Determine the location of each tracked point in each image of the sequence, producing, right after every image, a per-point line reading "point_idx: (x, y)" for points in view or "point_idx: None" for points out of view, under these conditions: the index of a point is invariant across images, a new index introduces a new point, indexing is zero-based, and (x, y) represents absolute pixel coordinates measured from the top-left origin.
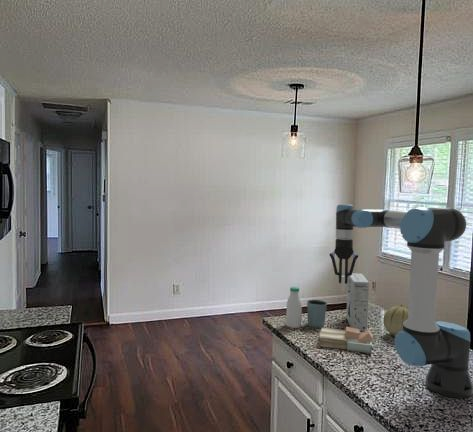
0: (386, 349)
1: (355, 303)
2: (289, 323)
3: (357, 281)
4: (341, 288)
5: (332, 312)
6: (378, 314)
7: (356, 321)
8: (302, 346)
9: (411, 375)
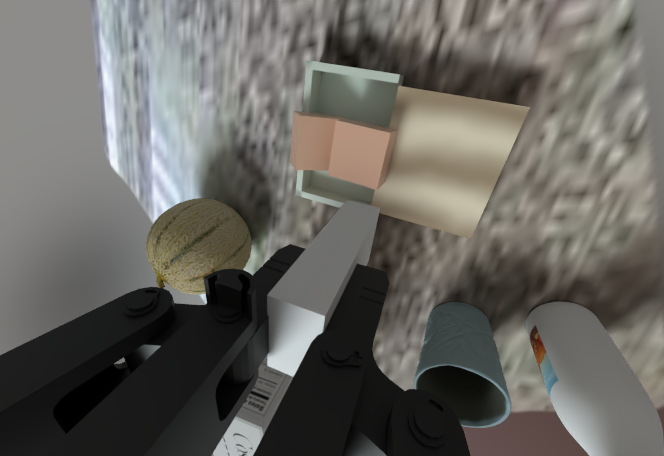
0: (269, 113)
1: None
2: (597, 320)
3: (243, 423)
4: (371, 218)
5: None
6: None
7: None
8: (619, 83)
9: None
